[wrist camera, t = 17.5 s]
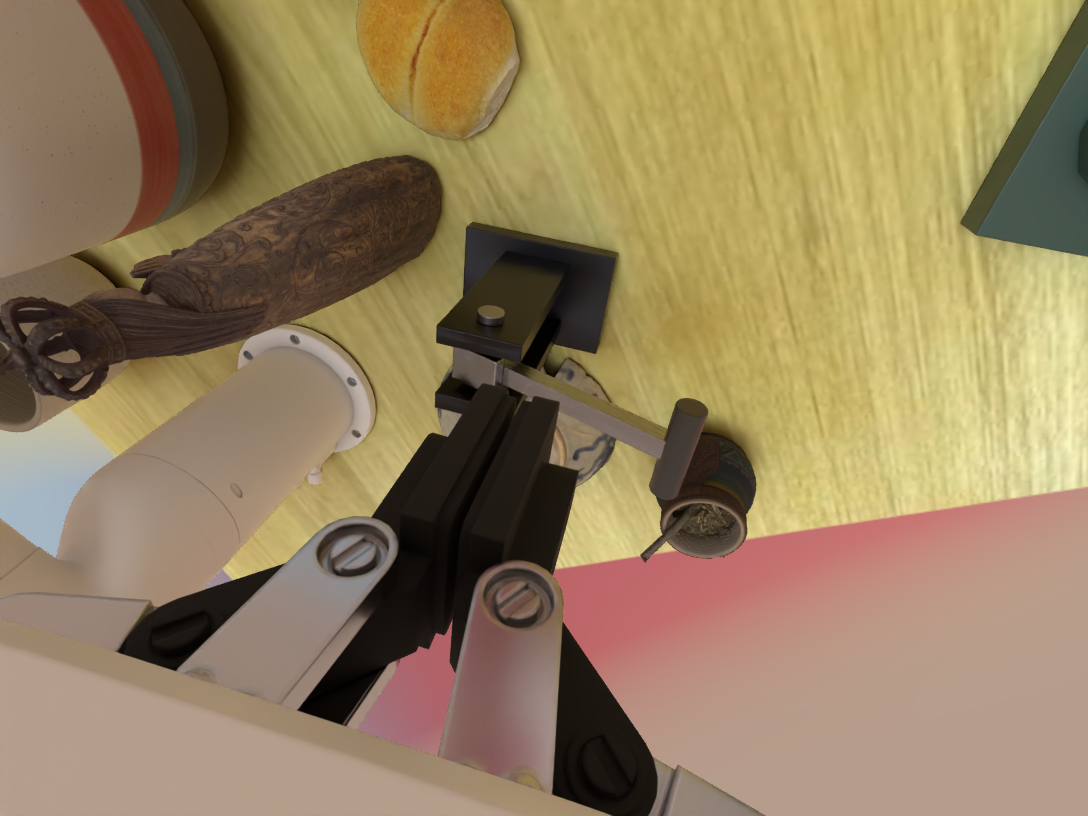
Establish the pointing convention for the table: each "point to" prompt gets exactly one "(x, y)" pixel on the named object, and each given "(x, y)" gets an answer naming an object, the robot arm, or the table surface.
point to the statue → (235, 277)
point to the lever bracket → (524, 302)
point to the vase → (101, 123)
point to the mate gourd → (709, 502)
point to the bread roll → (439, 60)
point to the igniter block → (1044, 161)
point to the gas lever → (599, 414)
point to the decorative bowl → (565, 428)
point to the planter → (63, 283)
